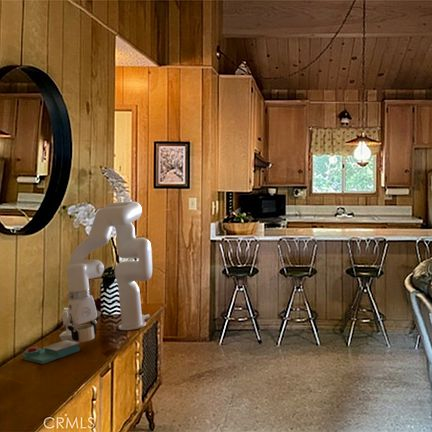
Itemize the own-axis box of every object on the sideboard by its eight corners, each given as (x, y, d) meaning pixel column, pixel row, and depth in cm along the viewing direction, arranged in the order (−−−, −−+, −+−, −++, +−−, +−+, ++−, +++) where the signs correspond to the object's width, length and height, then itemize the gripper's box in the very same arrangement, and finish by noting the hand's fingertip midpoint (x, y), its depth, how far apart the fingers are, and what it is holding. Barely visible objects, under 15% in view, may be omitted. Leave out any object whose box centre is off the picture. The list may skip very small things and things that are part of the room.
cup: (87, 335, 203) (86, 323, 202) (98, 337, 199) (97, 325, 198) (71, 340, 197) (69, 328, 196) (82, 343, 193) (81, 330, 192)
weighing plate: (66, 348, 208) (65, 339, 208) (80, 351, 203) (79, 342, 203) (43, 355, 200) (42, 347, 200) (57, 359, 195) (56, 350, 194)
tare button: (34, 349, 201) (34, 345, 201) (39, 350, 199) (38, 346, 199) (26, 352, 198) (26, 348, 198) (31, 353, 196) (30, 349, 196)
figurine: (81, 336, 224) (78, 304, 223) (76, 343, 214) (72, 309, 213) (65, 338, 222) (61, 306, 222) (58, 345, 213) (55, 311, 212)
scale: (59, 346, 211) (58, 339, 211) (79, 350, 203) (78, 343, 203) (22, 359, 198) (21, 351, 198) (42, 364, 190) (41, 356, 190)
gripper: (65, 300, 187) (70, 345, 188) (104, 289, 201) (108, 331, 203) (54, 299, 191) (59, 343, 193) (93, 288, 206) (97, 329, 207)
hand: (84, 336), depth 198 cm, fingers closed on cup, 7 cm apart
